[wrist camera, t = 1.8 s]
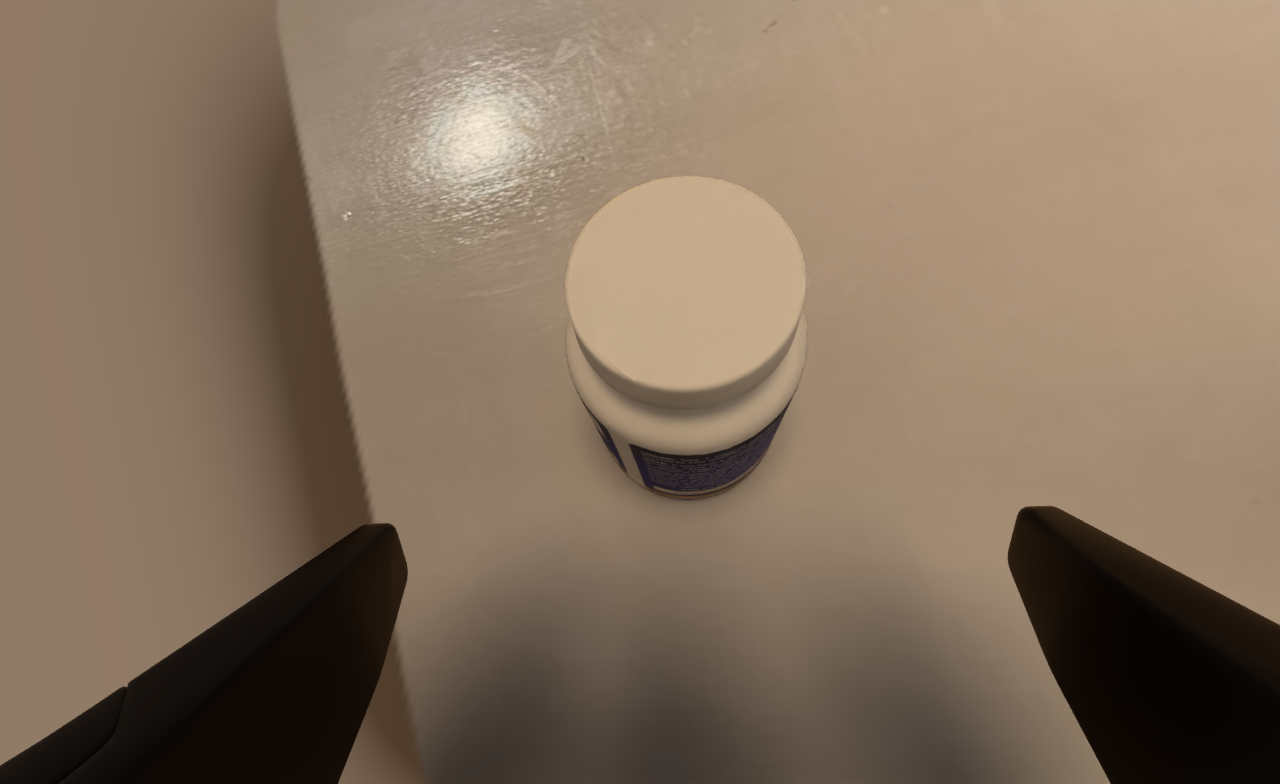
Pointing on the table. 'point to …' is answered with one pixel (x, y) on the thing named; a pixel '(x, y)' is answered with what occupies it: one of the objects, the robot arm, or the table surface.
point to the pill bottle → (686, 331)
